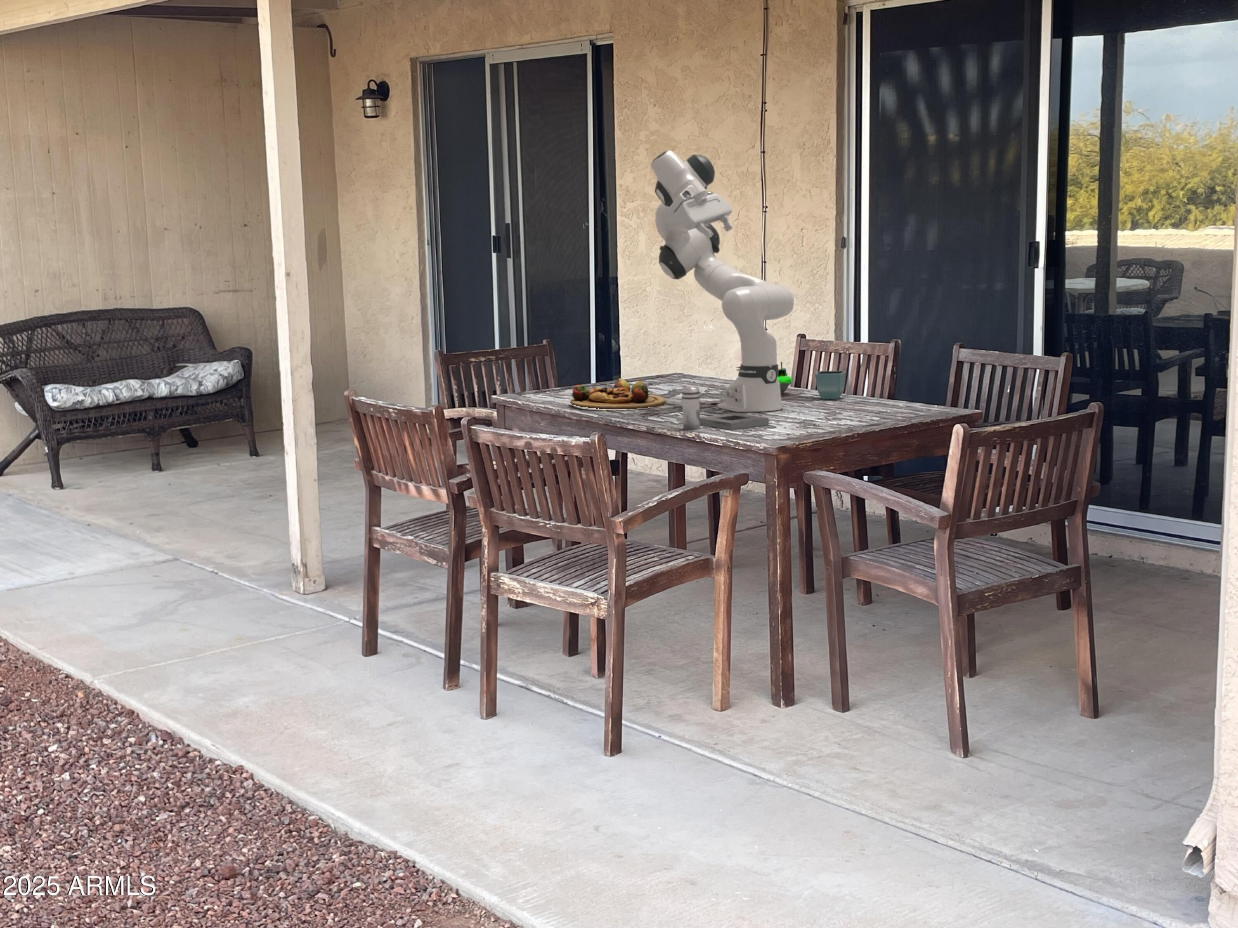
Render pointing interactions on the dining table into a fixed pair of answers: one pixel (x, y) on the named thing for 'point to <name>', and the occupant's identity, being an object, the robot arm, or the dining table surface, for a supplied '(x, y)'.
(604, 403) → the wooden plate with food
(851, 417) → the dining table surface
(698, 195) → the robot arm
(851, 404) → the dining table surface
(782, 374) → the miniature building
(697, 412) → the white pepper mill
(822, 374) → the flower pot
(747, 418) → the bore block
